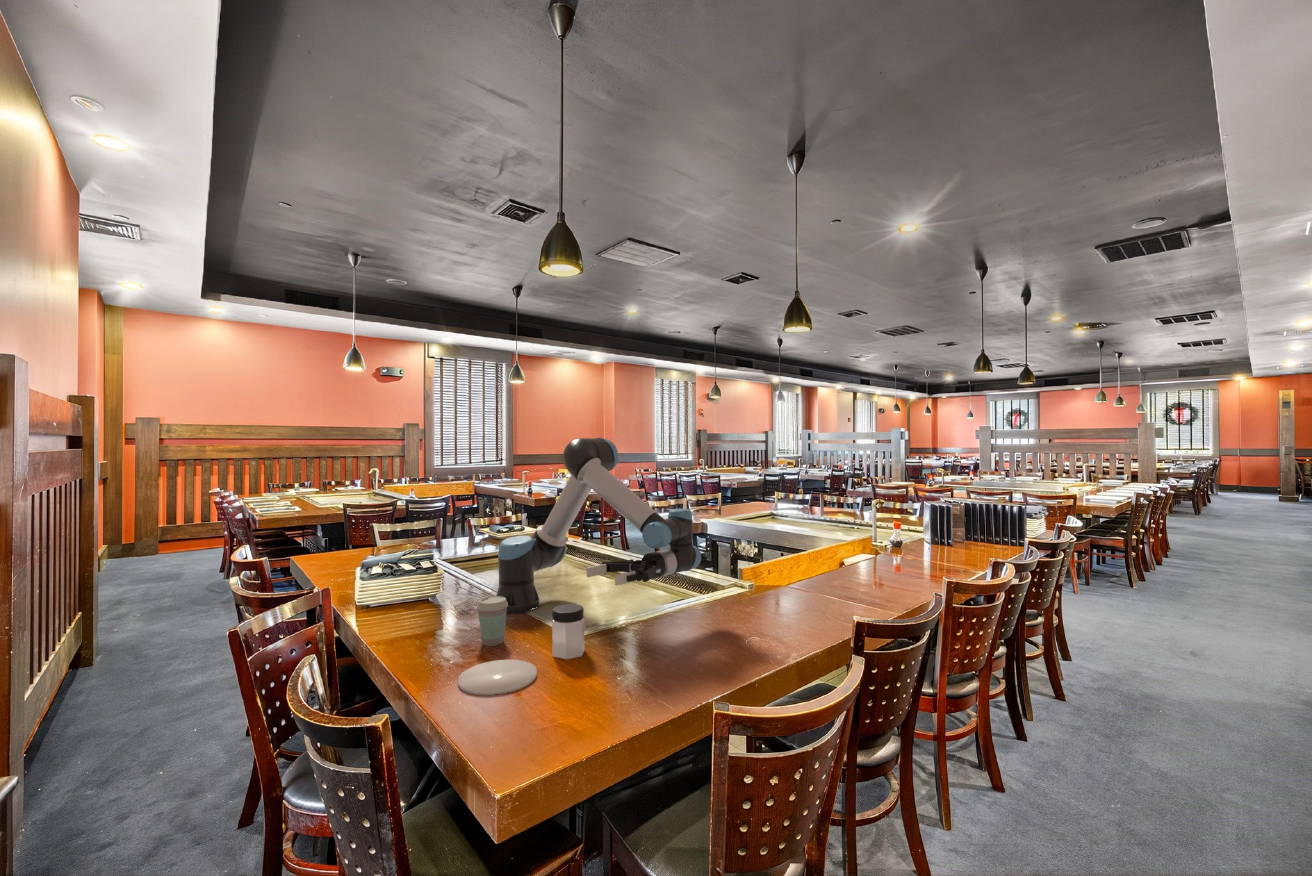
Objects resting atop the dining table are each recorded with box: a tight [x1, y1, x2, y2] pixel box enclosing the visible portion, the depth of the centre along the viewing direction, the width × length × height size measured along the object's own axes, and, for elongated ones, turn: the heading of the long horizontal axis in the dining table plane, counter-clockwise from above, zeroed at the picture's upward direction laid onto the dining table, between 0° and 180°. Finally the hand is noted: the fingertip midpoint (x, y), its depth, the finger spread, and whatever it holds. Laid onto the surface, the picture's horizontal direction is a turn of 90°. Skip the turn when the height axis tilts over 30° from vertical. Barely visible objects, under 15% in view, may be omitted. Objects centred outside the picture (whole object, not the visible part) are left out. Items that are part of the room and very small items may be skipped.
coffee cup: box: [476, 595, 508, 647], centre depth 160 cm, size 9×8×12 cm
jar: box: [551, 603, 585, 660], centre depth 151 cm, size 9×8×12 cm
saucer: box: [457, 659, 538, 696], centre depth 135 cm, size 18×18×1 cm
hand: (601, 576), depth 158 cm, fingers open, 13 cm apart
